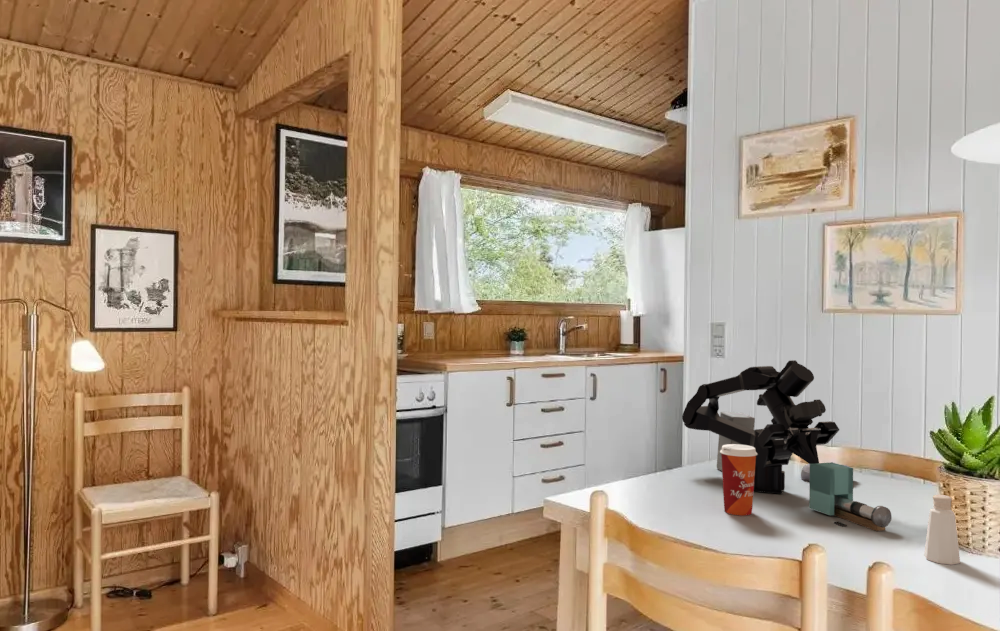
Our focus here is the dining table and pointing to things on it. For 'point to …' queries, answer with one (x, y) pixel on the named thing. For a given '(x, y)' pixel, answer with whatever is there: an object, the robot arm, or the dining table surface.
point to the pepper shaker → (942, 533)
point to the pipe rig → (861, 514)
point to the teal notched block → (829, 485)
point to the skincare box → (739, 419)
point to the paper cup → (738, 478)
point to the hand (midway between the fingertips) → (816, 465)
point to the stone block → (807, 472)
